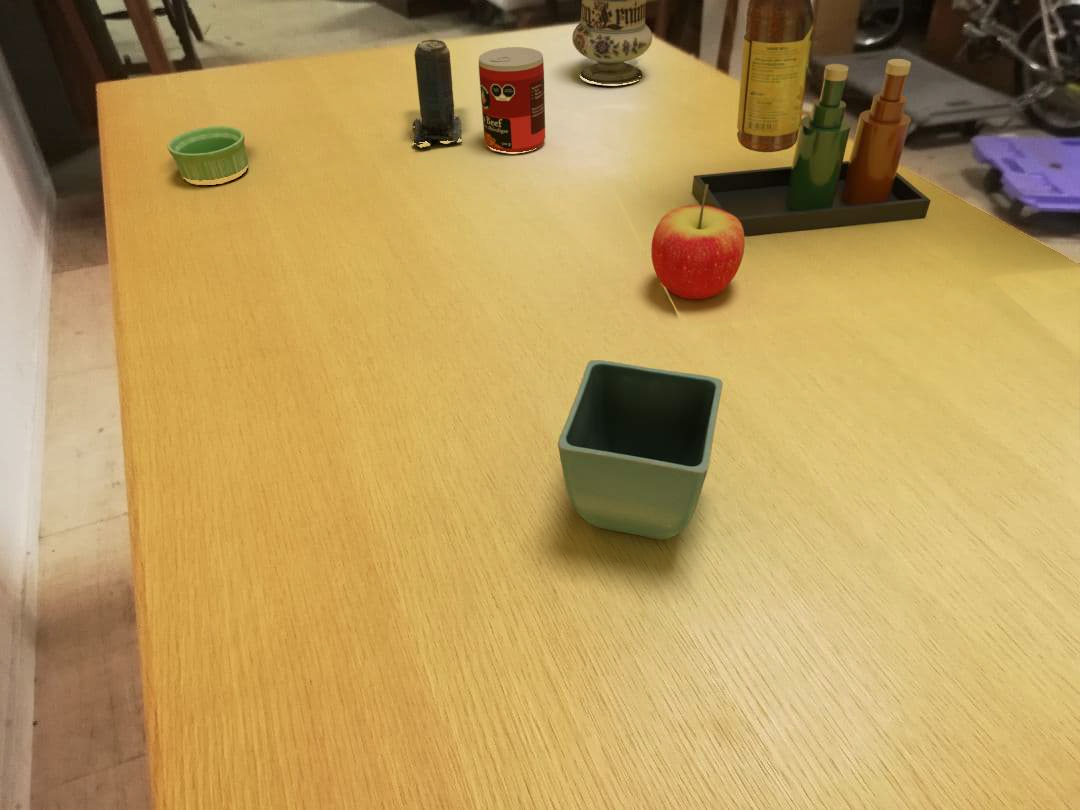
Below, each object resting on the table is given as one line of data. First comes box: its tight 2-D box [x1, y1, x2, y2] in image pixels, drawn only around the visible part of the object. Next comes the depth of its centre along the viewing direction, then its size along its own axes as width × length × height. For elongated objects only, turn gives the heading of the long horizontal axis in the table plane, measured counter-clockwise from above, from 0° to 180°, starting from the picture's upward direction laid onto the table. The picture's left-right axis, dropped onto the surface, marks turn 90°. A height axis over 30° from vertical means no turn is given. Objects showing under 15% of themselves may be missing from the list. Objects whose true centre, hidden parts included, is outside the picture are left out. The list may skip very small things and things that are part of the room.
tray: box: [691, 160, 932, 238], centre depth 86 cm, size 22×11×2 cm, turn 99°
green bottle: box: [785, 63, 852, 211], centre depth 82 cm, size 5×5×14 cm
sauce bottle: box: [736, 0, 815, 153], centre depth 74 cm, size 6×6×20 cm
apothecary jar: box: [571, 0, 653, 84], centre depth 116 cm, size 12×12×18 cm
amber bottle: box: [841, 58, 912, 206], centre depth 82 cm, size 5×5×14 cm
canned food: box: [478, 46, 546, 152], centre depth 99 cm, size 8×8×11 cm
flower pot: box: [557, 359, 723, 541], centre depth 51 cm, size 9×9×9 cm
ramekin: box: [167, 125, 249, 181], centre depth 97 cm, size 9×9×4 cm
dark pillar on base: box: [412, 39, 462, 147], centre depth 102 cm, size 9×8×12 cm
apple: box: [650, 184, 746, 300], centre depth 71 cm, size 8×8×10 cm
